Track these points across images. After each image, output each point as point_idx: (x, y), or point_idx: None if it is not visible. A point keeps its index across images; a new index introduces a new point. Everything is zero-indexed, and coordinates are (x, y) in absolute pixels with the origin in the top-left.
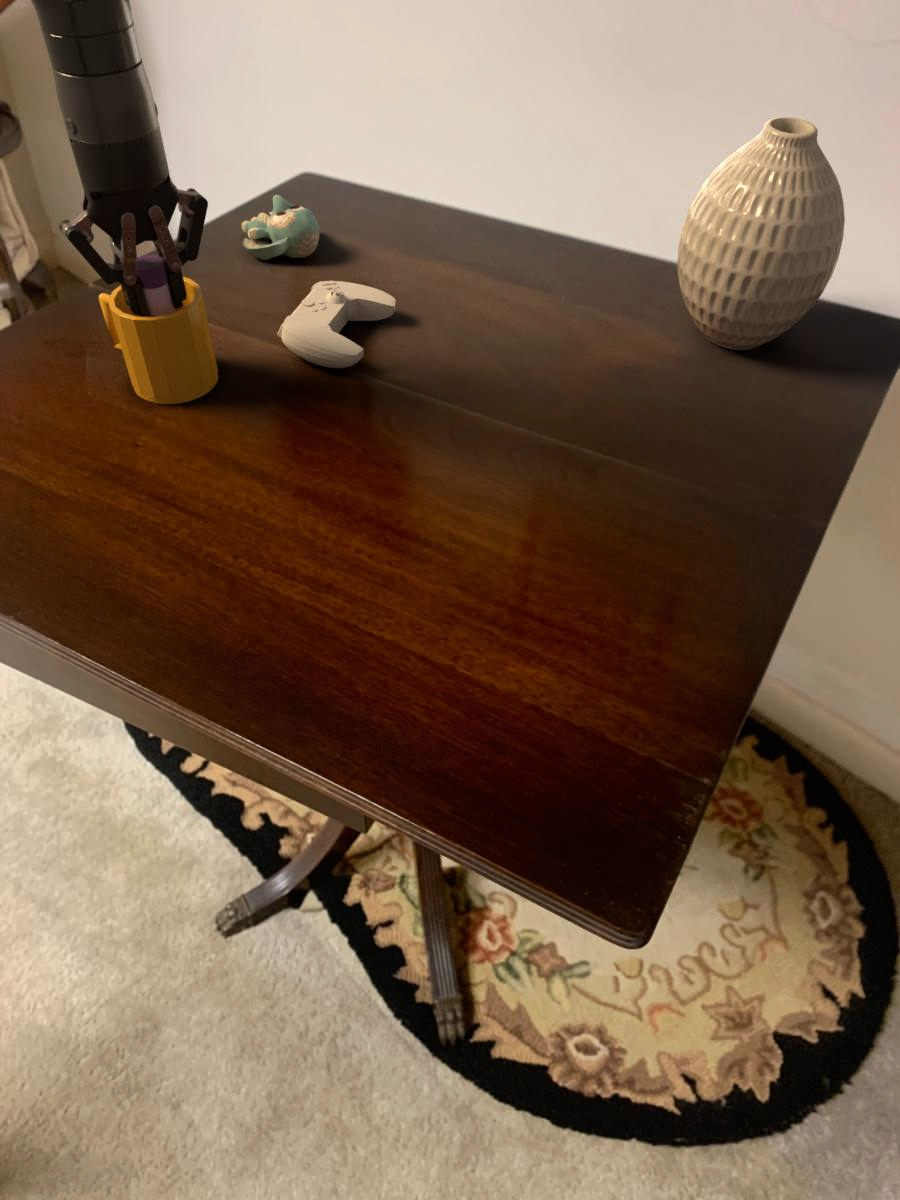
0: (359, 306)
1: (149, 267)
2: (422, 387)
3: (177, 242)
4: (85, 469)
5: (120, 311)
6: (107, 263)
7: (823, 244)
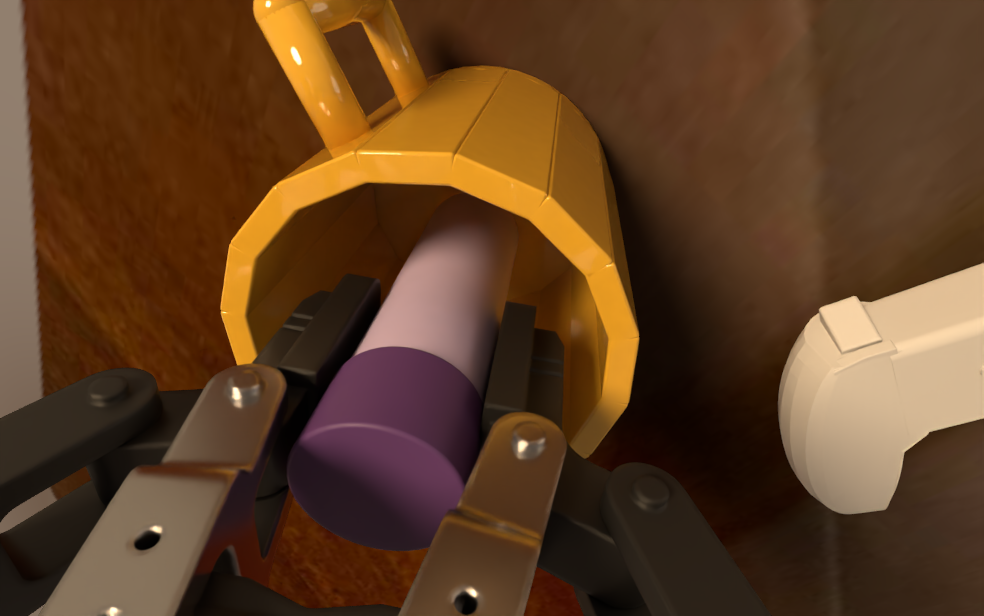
0: None
1: (360, 532)
2: (863, 561)
3: (614, 530)
4: (183, 338)
5: (253, 358)
6: (134, 448)
7: None
